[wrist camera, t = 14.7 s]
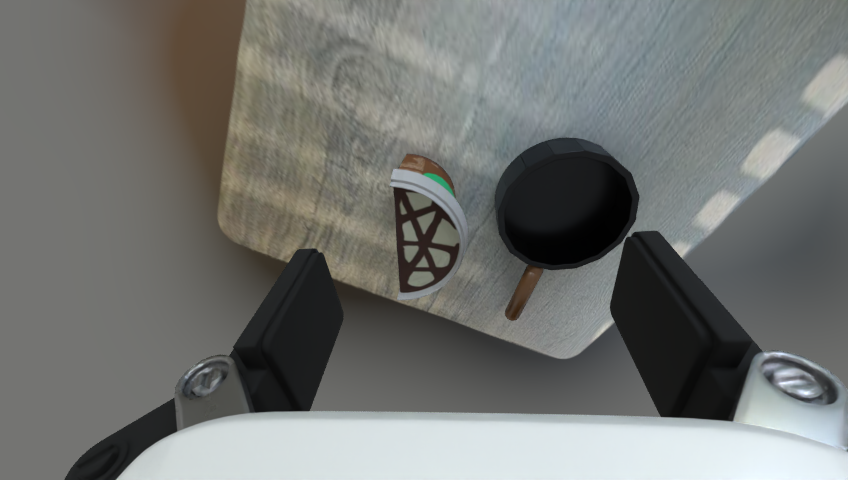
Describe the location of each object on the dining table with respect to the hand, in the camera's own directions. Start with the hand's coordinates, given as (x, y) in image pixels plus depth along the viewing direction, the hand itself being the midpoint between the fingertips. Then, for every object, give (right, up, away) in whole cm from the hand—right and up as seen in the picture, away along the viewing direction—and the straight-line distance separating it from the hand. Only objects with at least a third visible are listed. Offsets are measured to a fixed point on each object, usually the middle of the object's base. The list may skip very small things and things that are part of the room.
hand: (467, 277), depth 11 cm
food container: (0, +6, +26) cm, 27 cm away
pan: (+11, +2, +27) cm, 30 cm away
